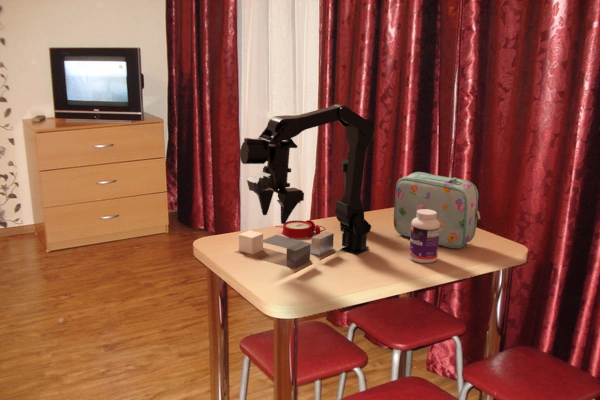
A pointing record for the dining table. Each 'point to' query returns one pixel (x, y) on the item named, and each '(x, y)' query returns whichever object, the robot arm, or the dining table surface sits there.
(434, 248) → the pill bottle
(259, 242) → the cream block
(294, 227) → the alarm clock
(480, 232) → the dining table surface
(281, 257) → the walnut strip
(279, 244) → the grey piece
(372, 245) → the dining table surface
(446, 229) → the lunch box
